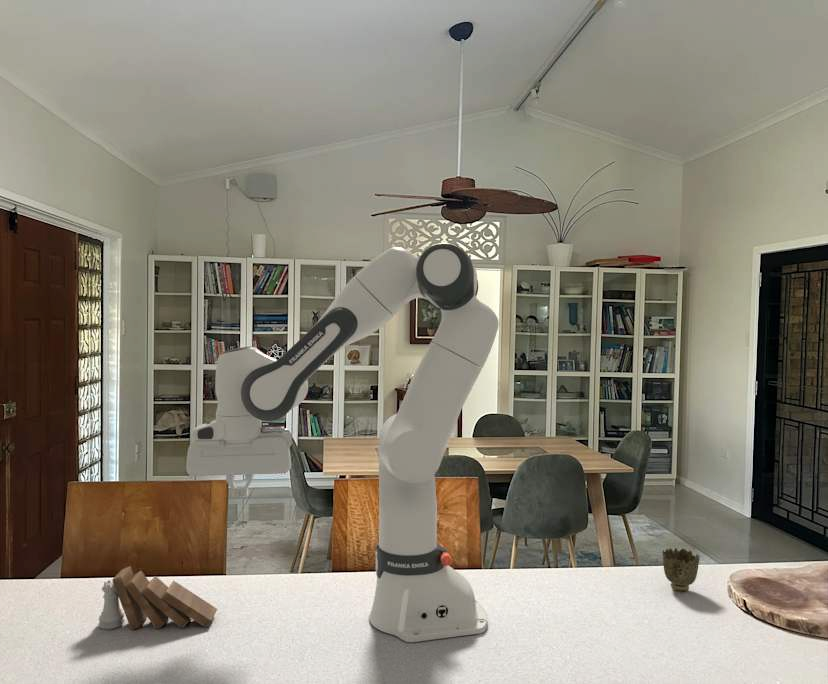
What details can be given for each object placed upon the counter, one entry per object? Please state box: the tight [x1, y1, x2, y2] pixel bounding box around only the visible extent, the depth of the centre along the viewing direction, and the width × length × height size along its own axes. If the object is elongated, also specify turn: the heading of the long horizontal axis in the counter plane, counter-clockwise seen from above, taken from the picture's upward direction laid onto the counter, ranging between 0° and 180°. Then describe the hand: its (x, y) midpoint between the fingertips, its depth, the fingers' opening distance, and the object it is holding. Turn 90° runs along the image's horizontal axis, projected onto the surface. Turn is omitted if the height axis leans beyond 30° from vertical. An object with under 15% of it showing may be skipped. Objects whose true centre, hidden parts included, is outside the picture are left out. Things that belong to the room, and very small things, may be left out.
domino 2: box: [125, 570, 170, 630], centre depth 120 cm, size 2×5×10 cm
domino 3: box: [141, 575, 191, 630], centre depth 120 cm, size 2×5×10 cm
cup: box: [661, 547, 701, 593], centre depth 139 cm, size 8×7×8 cm
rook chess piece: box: [97, 579, 125, 631], centre depth 119 cm, size 4×4×8 cm
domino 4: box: [161, 580, 218, 629], centre depth 121 cm, size 2×5×10 cm
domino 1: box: [112, 565, 148, 631], centre depth 120 cm, size 2×5×10 cm, turn 5°
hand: (240, 496), depth 129 cm, fingers closed
